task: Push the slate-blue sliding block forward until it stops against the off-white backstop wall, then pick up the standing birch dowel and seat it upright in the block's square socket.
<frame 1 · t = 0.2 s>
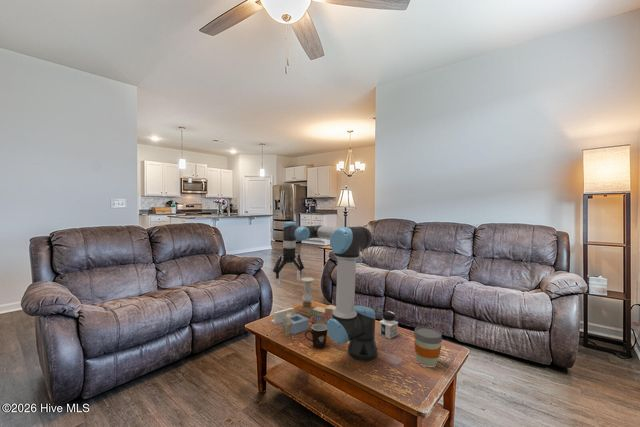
hand: (288, 282, 170), 27 cm above the table, fingers open, 13 cm apart
coffee mug: (316, 345, 149), on the table
reusable coffee cup: (426, 362, 135), on the table
stack of blocks: (329, 326, 173), on the table
dowel: (288, 335, 159), on the table
block: (296, 323, 169), point 3 cm above the table, slide at 0.0 cm
container: (388, 335, 163), on the table
wall: (284, 321, 179), on the table
candle holder: (306, 313, 192), on the table
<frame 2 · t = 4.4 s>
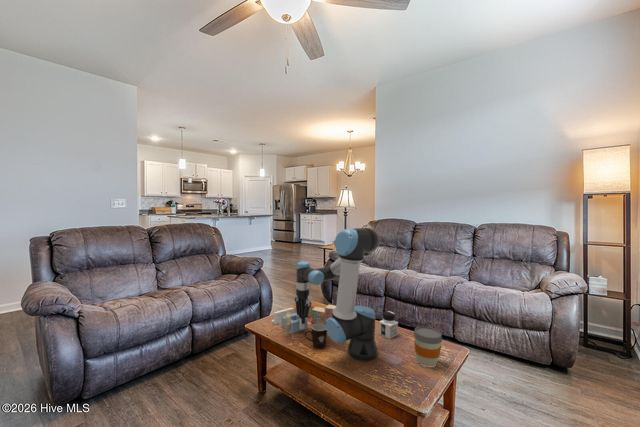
hand: (301, 328, 164), 2 cm above the table, fingers closed
block: (294, 322, 170), point 3 cm above the table, slide at 1.5 cm, touching gripper
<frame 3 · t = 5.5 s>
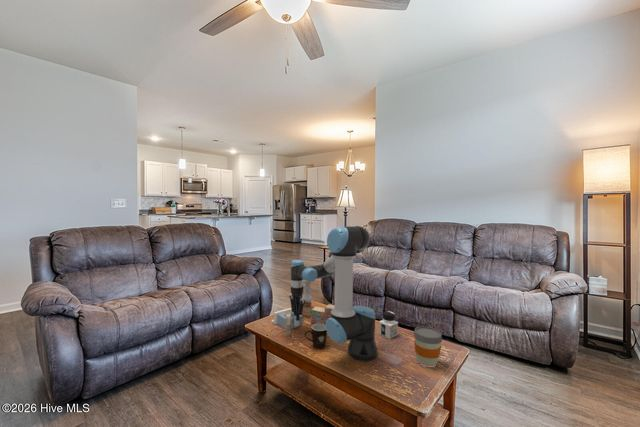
hand: (296, 325, 168), 2 cm above the table, fingers closed
block: (289, 319, 174), point 3 cm above the table, slide at 6.5 cm, touching gripper, wall
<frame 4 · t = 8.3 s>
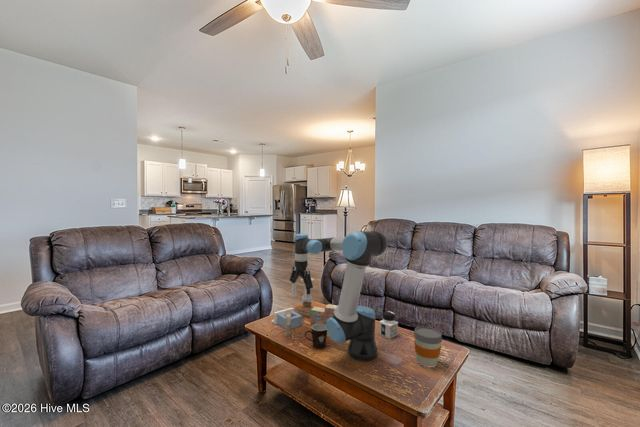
hand: (300, 296, 165), 21 cm above the table, fingers open, 12 cm apart
block: (289, 319, 174), point 3 cm above the table, slide at 6.5 cm
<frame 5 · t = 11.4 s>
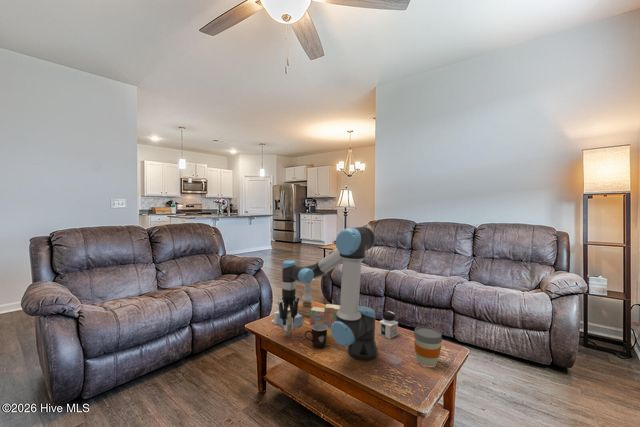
hand: (288, 329, 159), 4 cm above the table, fingers closed on dowel, 3 cm apart
dowel: (288, 335, 159), on the table, touching gripper
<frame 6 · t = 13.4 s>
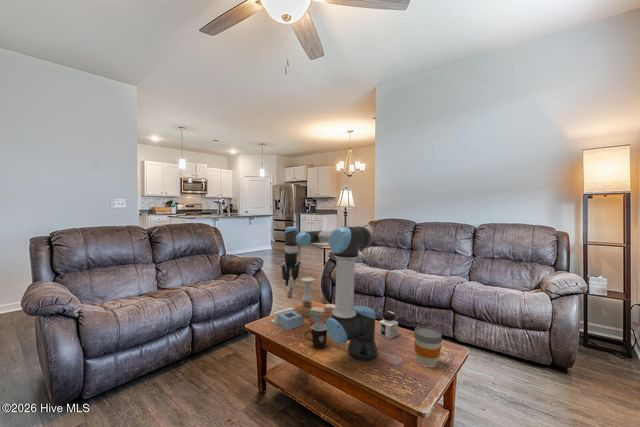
hand: (290, 290, 172), 22 cm above the table, fingers closed on dowel, 2 cm apart
dowel: (289, 297, 172), point 17 cm above the table, touching gripper
when the fingers open (8 cm above the table, at t = 15.7 s): dowel drops 3 cm, resting on block.
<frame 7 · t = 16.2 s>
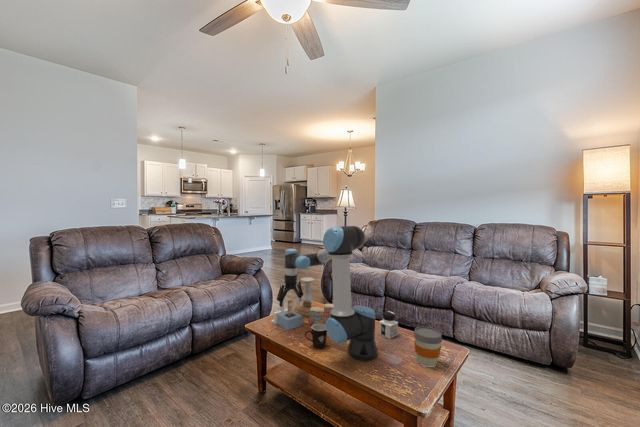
hand: (290, 309, 173), 9 cm above the table, fingers open, 11 cm apart
dowel: (290, 323, 174), point 1 cm above the table, touching block
block: (289, 319, 174), point 3 cm above the table, slide at 6.5 cm, touching dowel
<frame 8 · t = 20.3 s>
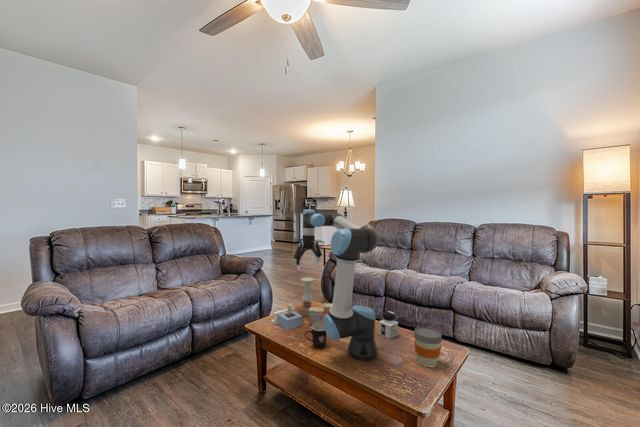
hand: (307, 268, 174), 35 cm above the table, fingers open, 13 cm apart
at the end: block slide at 6.5 cm; dowel 0.2 cm off-centre on the block, point 0.8 cm above the block's base; dowel tilted 0° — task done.
